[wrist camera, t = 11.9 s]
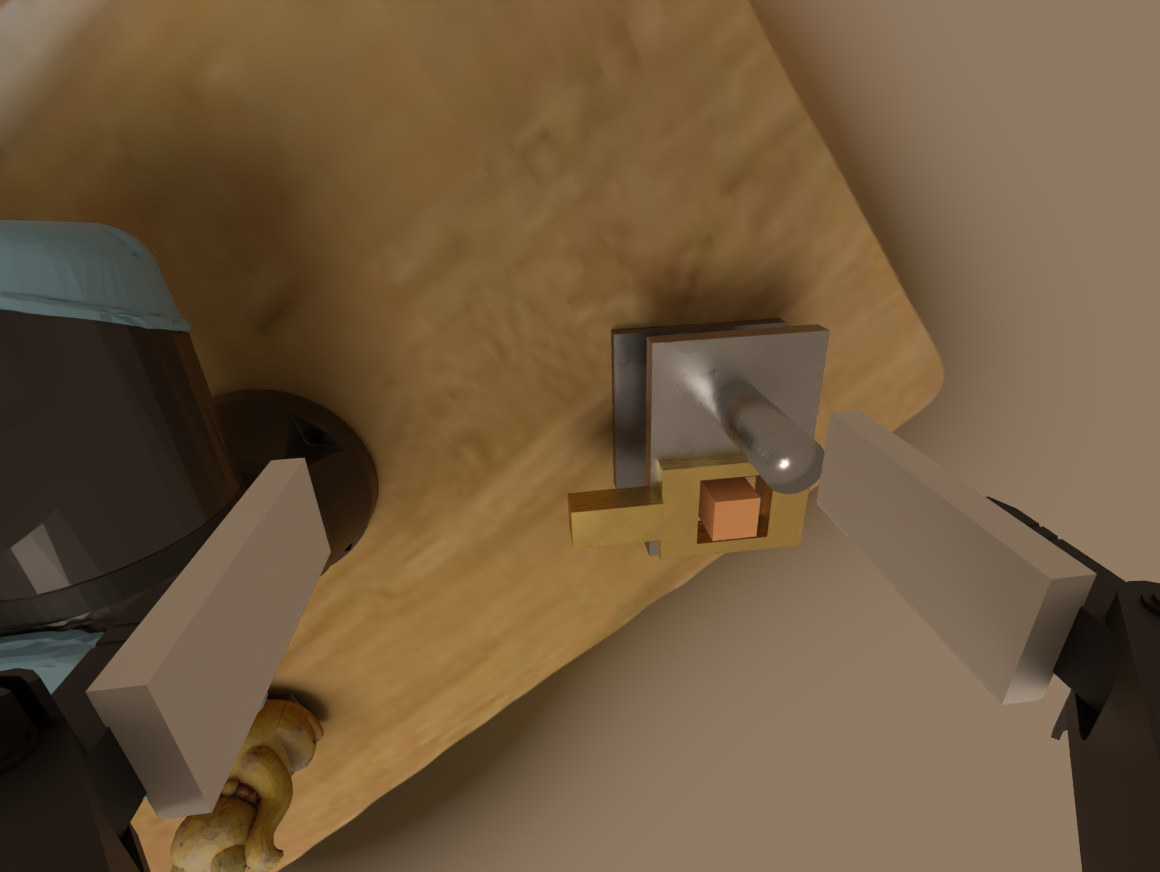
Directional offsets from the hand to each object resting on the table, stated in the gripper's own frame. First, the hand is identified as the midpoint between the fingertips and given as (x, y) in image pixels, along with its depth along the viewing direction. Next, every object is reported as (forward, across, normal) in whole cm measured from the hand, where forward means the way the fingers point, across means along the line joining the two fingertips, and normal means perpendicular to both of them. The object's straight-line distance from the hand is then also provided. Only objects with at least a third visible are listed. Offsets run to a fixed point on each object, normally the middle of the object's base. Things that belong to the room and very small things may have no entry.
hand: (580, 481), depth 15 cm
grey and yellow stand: (+29, +10, -10) cm, 32 cm away
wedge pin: (+28, +12, -14) cm, 33 cm away
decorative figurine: (+29, -28, -39) cm, 56 cm away
